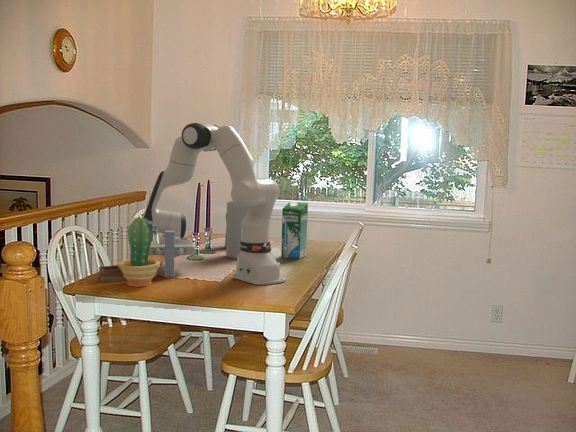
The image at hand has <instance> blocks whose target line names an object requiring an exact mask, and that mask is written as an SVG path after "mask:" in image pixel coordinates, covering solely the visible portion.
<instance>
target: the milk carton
mask: <svg viewBox="0 0 576 432" xmlns="http://www.w3.org/2000/svg"><path fill="white" fill-rule="evenodd" d="M308 209H309V204H308V202H298V201H297V202H295V201H289V202H288V203H287V204H286V205H285V206H284V207H283V208H282V213H281V214H282V215H281V216H282V218H281V219H282V220H281V221H282V222H281V250H280V251H281V255H280V256H281V258H283V259H284V258H285V259H295V260H300V259H302V258H305V257H307V249H308V247H307V245H308V242H307V240H308V215H309V214H308V212H309V211H308Z"/></svg>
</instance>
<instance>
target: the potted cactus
mask: <svg viewBox="0 0 576 432" xmlns="http://www.w3.org/2000/svg"><path fill="white" fill-rule="evenodd" d="M153 231H154V232H153ZM158 234H159V233H158V230H157V228H156V226H155V224H154V222H152V221H148V220H147V218H145V219H144V217H141V218H140V217H135V218H134V219H133V220H132V221H131V223H130V224H129V226H128V227H127V238H128V243H129V245H130V246H129V247H130V259H125V260H121V261H119V262H118V263H117V264H118V266H119V268H120V269H121V270H122V273H123V276H124V277H125V278H126V280H125V281H127V283H126V285H127V286H130V287H138V288H139V287H148V286H150V285H152V284H153V283H152V280H153V279H154V278H155V277H154V276H155V274H156V272H157V271H158V269H159V268H160V266H161V265H160V264H161V262H160V261H159V260H157V259H151V258H149V256H150V255H149V249H150V245H151V244H153V243H152V242H153V239H154V236H155V238H157V236H158ZM153 277H154V278H153Z"/></svg>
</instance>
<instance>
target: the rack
mask: <svg viewBox="0 0 576 432" xmlns="http://www.w3.org/2000/svg"><path fill="white" fill-rule="evenodd" d="M97 278H98V279H99V280H100V281H101V282H102V283H110V282H111V283H112V282H121V281H122V282H123V281H127V280H126V278H125V277H124V276H123V273H122V270H121V269H120V268H119V265H106V266H105V265H104V266H103V265H102V266H99V267H98V273H97ZM154 278H158V272H157V271H156V274H155V276H154V277H153V279H154Z"/></svg>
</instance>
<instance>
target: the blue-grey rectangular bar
mask: <svg viewBox="0 0 576 432" xmlns="http://www.w3.org/2000/svg"><path fill="white" fill-rule="evenodd" d="M164 278H166V279H167V278H175V257H174V231H165V257H164Z"/></svg>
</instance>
